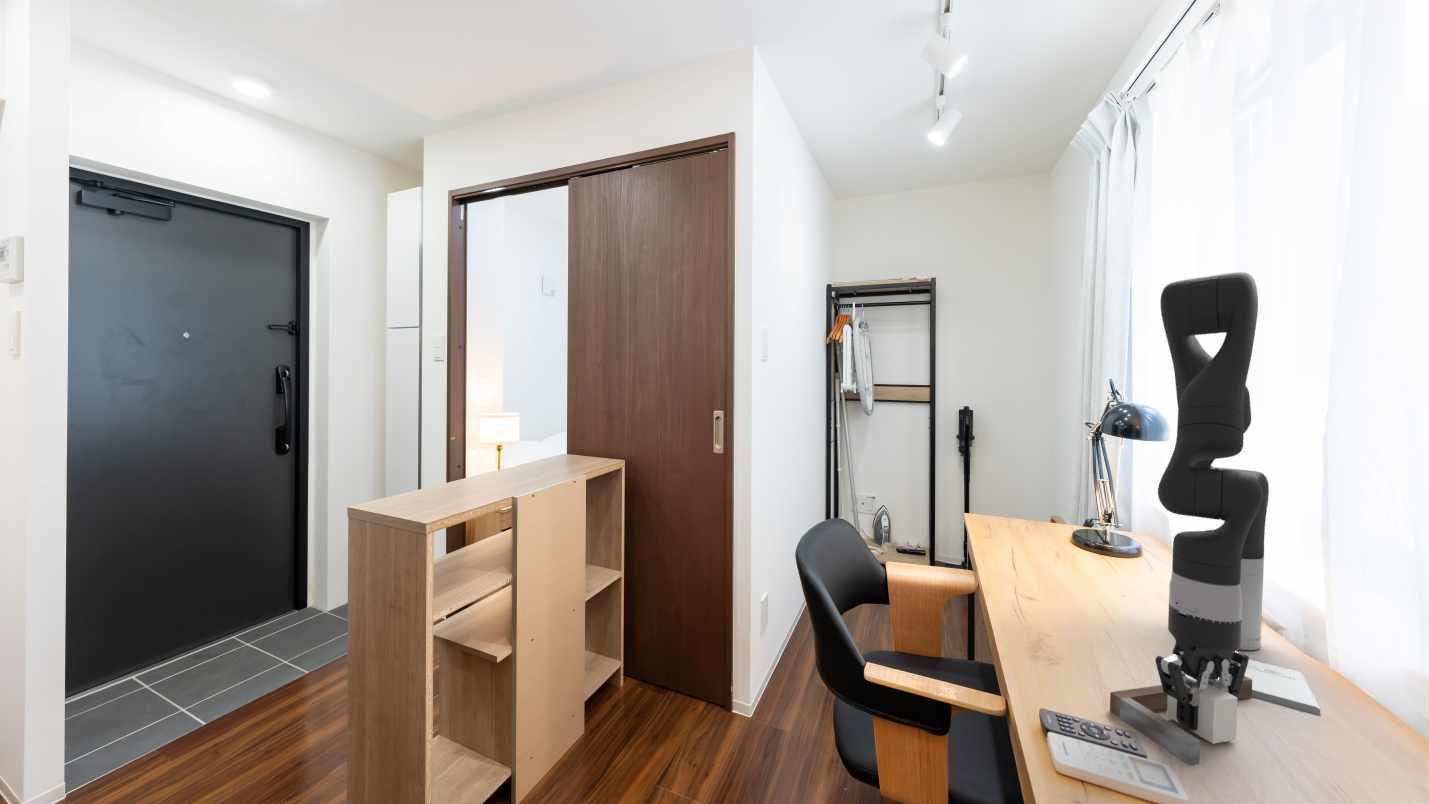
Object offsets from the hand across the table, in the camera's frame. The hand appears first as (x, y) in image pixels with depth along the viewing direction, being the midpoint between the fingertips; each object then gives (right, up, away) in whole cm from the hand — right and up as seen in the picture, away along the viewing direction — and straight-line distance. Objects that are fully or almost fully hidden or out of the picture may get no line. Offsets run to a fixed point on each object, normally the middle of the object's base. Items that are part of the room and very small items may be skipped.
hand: (1200, 723), depth 74 cm
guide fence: (+4, -1, +1) cm, 4 cm away
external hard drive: (+22, -1, +11) cm, 25 cm away
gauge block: (0, -1, 0) cm, 1 cm away
